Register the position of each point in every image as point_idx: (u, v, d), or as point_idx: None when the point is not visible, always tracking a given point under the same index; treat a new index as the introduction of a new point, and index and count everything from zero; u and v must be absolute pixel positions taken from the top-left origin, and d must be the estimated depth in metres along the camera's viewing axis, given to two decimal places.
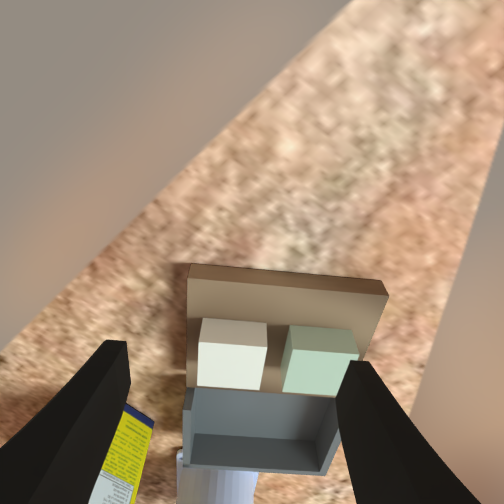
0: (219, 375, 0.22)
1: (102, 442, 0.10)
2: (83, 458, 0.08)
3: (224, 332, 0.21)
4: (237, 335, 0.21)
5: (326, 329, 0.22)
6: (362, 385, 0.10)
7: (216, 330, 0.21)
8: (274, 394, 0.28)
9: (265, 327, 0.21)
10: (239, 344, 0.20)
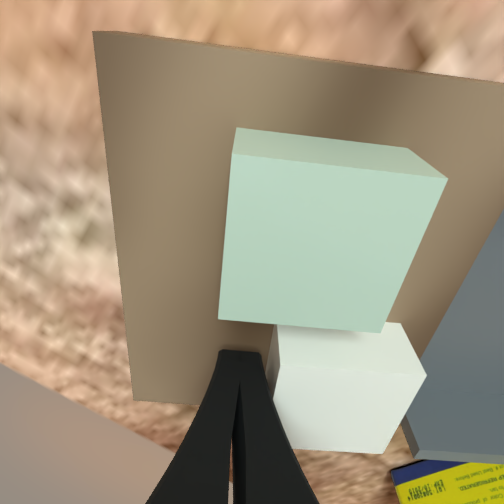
0: (359, 428, 0.11)
1: None
2: None
3: None
4: (270, 384, 0.11)
5: None
6: (239, 375, 0.10)
7: None
8: (493, 268, 0.11)
9: (276, 324, 0.10)
10: None
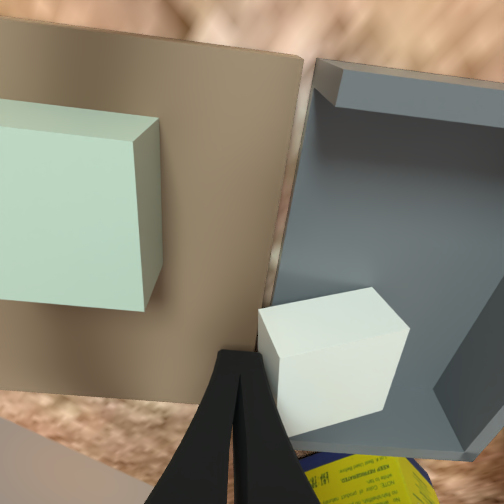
0: (359, 394, 0.11)
1: None
2: None
3: None
4: (269, 379, 0.11)
5: None
6: (240, 375, 0.10)
7: None
8: (319, 250, 0.11)
9: (262, 320, 0.10)
10: (276, 394, 0.10)
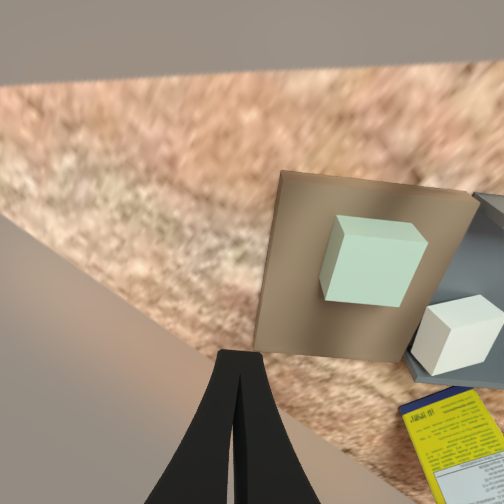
0: (476, 350, 0.21)
1: None
2: None
3: (427, 349, 0.21)
4: (433, 342, 0.21)
5: (329, 243, 0.18)
6: (240, 375, 0.10)
7: (424, 353, 0.22)
8: (457, 276, 0.21)
9: (431, 312, 0.21)
10: (442, 348, 0.20)
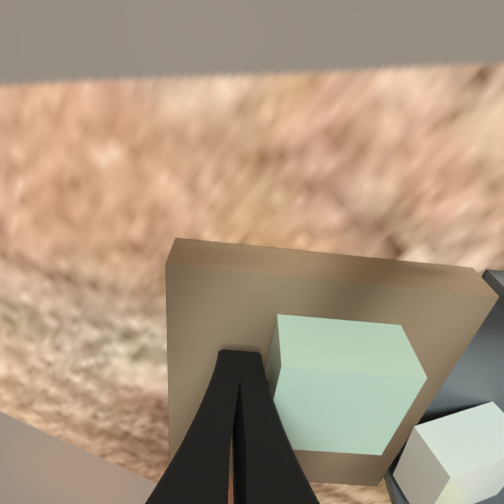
0: (487, 487, 0.15)
1: None
2: None
3: (416, 485, 0.15)
4: (423, 480, 0.14)
5: (270, 353, 0.12)
6: (239, 375, 0.10)
7: (411, 488, 0.15)
8: (459, 380, 0.14)
9: (421, 437, 0.14)
10: (436, 496, 0.13)
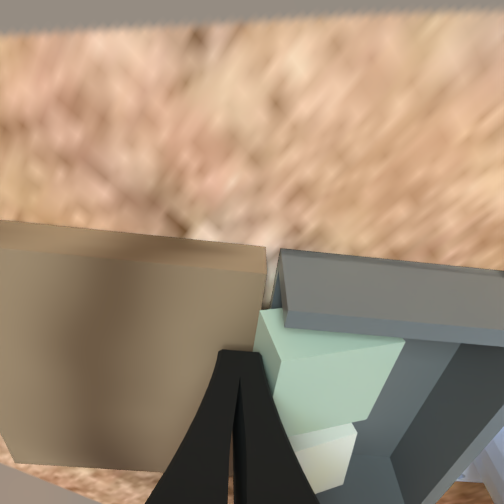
0: (322, 476, 0.14)
1: None
2: None
3: None
4: None
5: (254, 350, 0.12)
6: (239, 375, 0.10)
7: None
8: None
9: None
10: None
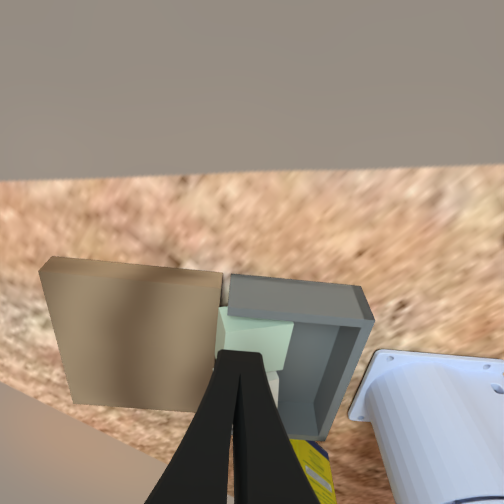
0: None
1: None
2: None
3: None
4: None
5: (217, 329, 0.21)
6: (240, 375, 0.10)
7: None
8: None
9: None
10: None
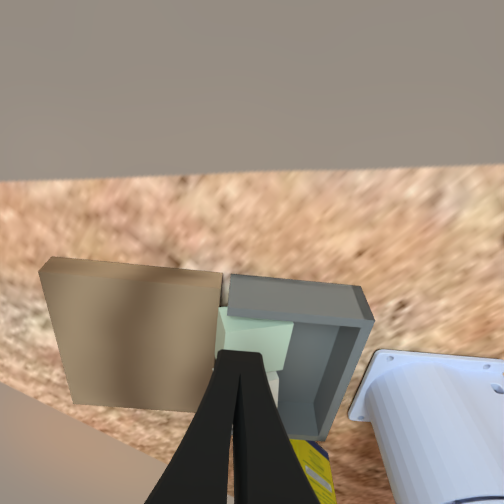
0: None
1: None
2: None
3: None
4: None
5: (217, 329, 0.21)
6: (240, 375, 0.10)
7: None
8: None
9: None
10: None
